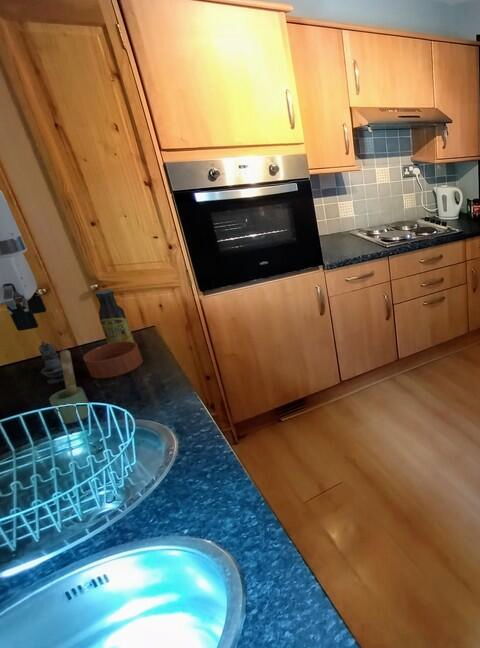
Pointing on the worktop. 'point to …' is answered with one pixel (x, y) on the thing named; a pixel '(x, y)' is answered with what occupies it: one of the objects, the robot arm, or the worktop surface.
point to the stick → (68, 372)
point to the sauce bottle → (113, 318)
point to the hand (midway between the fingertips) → (33, 320)
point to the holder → (70, 412)
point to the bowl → (113, 359)
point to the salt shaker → (51, 363)
